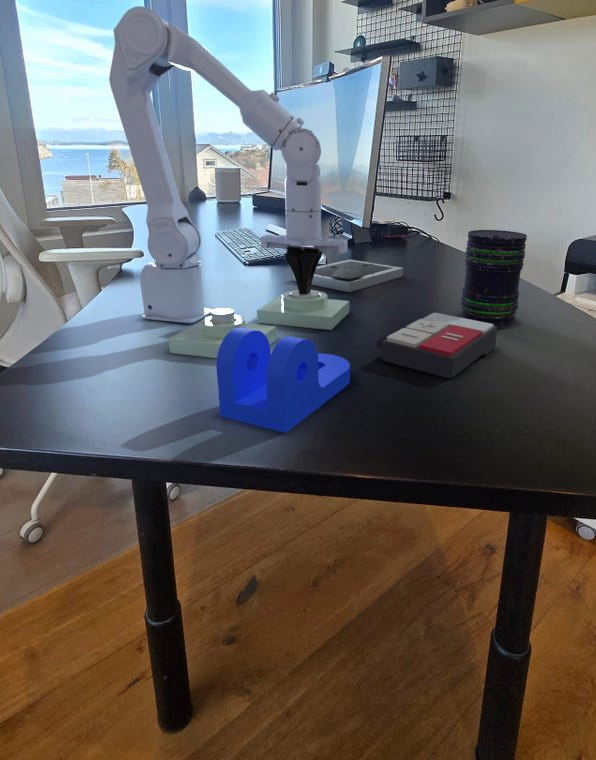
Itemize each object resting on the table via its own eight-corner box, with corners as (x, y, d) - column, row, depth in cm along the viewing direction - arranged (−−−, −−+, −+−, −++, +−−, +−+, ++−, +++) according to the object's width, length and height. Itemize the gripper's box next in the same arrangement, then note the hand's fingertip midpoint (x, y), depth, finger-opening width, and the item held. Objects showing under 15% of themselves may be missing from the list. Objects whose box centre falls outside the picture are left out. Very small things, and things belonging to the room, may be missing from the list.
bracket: (285, 433, 56) (282, 350, 53) (220, 416, 59) (213, 337, 56) (360, 375, 71) (362, 308, 68) (305, 364, 74) (304, 299, 71)
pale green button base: (169, 353, 77) (166, 325, 76) (205, 332, 86) (202, 307, 84) (248, 362, 75) (246, 334, 73) (276, 340, 84) (275, 314, 82)
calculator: (380, 335, 75) (433, 308, 86) (380, 364, 77) (431, 334, 88) (452, 353, 69) (498, 321, 80) (450, 383, 71) (496, 348, 82)
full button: (286, 304, 93) (286, 294, 92) (296, 298, 97) (296, 288, 96) (313, 307, 92) (313, 297, 91) (322, 300, 96) (322, 290, 95)
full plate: (257, 322, 92) (256, 299, 90) (281, 306, 102) (281, 285, 100) (331, 330, 89) (331, 306, 87) (349, 312, 99) (349, 291, 97)
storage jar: (462, 310, 103) (470, 228, 97) (516, 315, 100) (527, 232, 94) (456, 324, 94) (464, 235, 88) (514, 330, 91) (527, 239, 86)
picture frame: (349, 292, 113) (402, 276, 129) (349, 278, 112) (403, 264, 128) (293, 281, 121) (349, 267, 137) (292, 268, 120) (349, 256, 136)
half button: (207, 324, 78) (206, 313, 77) (218, 318, 81) (217, 307, 80) (228, 327, 77) (227, 315, 76) (238, 321, 80) (237, 309, 79)
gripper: (251, 210, 86) (255, 294, 91) (339, 215, 83) (338, 302, 88) (268, 206, 93) (272, 285, 98) (351, 210, 90) (350, 292, 95)
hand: (304, 292), depth 94 cm, fingers closed, pressing on full button
